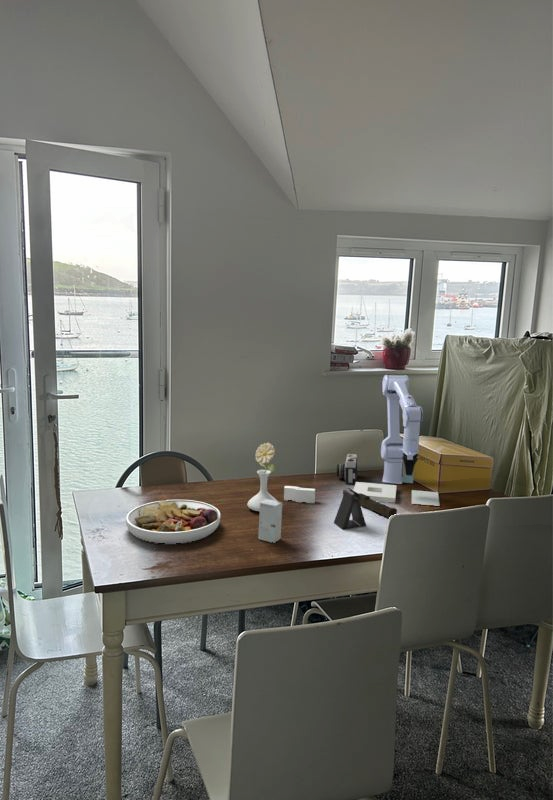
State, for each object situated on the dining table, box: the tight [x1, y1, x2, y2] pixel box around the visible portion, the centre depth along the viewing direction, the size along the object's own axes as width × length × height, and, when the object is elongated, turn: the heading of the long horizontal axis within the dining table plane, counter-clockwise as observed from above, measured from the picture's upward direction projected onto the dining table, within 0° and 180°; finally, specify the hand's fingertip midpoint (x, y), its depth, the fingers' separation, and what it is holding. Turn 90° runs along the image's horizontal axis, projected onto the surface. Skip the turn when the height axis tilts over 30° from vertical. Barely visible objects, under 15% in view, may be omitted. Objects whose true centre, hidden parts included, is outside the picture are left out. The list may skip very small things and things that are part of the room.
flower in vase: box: [246, 442, 278, 512], centre depth 214 cm, size 13×11×25 cm
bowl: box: [125, 499, 221, 545], centre depth 197 cm, size 30×30×8 cm
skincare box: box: [257, 499, 283, 544], centre depth 189 cm, size 6×4×12 cm
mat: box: [411, 489, 440, 506], centre depth 231 cm, size 16×10×1 cm, turn 167°
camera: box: [336, 453, 358, 485], centre depth 253 cm, size 14×9×10 cm, turn 162°
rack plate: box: [352, 481, 398, 503], centre depth 235 cm, size 16×16×2 cm
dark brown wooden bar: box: [359, 493, 398, 519], centre depth 217 cm, size 19×4×5 cm, turn 33°
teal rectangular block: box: [401, 461, 415, 484], centre depth 231 cm, size 4×4×7 cm
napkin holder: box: [283, 485, 316, 504], centre depth 227 cm, size 15×11×6 cm
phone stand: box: [333, 487, 367, 530], centre depth 203 cm, size 9×6×12 cm, turn 112°
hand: (409, 473), depth 231 cm, fingers closed on teal rectangular block, 4 cm apart
